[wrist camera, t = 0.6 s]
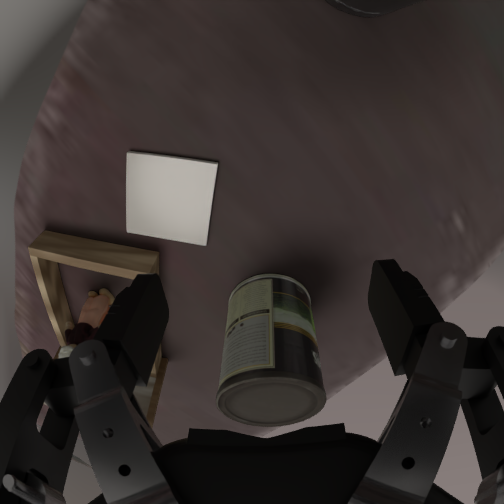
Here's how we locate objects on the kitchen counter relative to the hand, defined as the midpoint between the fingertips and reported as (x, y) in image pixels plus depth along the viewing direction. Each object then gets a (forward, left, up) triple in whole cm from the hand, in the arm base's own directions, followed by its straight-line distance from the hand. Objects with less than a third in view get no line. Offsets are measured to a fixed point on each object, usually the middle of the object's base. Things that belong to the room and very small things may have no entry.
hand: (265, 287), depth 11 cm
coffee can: (+18, +5, -19) cm, 27 cm away
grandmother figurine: (+22, -17, -19) cm, 34 cm away
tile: (+6, -8, -19) cm, 22 cm away
